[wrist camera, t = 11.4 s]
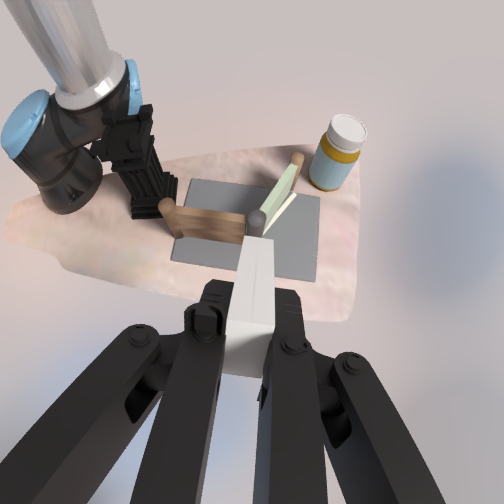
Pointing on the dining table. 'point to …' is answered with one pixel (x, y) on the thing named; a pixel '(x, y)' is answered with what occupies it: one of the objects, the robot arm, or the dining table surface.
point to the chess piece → (136, 160)
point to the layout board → (279, 229)
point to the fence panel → (282, 187)
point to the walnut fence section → (211, 223)
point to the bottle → (337, 152)
